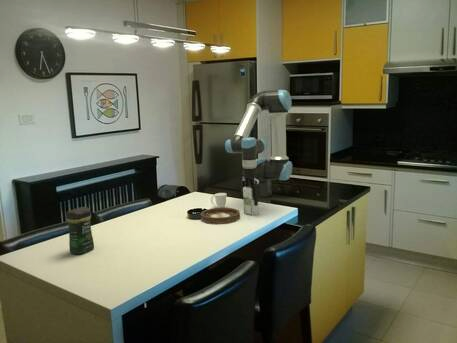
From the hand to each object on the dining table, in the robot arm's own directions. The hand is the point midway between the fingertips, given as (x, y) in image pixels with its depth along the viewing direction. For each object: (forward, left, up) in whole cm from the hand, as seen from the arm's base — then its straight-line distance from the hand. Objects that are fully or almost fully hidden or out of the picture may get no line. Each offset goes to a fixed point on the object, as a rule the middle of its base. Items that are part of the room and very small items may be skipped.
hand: (251, 209), depth 216 cm
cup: (+6, -22, -2) cm, 23 cm away
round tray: (+17, -4, -2) cm, 18 cm away
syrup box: (0, 0, -2) cm, 2 cm away
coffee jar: (+87, -4, -2) cm, 87 cm away
